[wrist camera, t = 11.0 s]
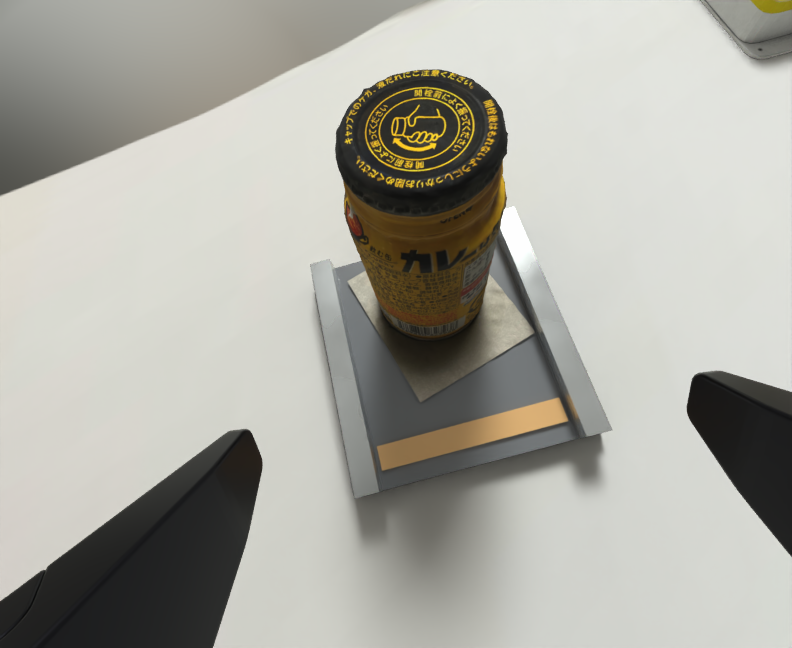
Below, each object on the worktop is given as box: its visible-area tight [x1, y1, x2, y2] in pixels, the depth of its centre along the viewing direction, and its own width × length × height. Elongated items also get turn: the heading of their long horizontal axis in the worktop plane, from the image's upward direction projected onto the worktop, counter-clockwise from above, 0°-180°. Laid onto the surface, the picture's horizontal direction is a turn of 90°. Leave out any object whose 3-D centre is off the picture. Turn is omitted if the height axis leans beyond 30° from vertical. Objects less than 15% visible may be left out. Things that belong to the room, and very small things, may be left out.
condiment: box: [335, 70, 535, 402], centre depth 17 cm, size 7×8×12 cm
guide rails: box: [310, 207, 612, 498], centre depth 21 cm, size 13×12×1 cm
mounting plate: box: [312, 239, 578, 495], centre depth 22 cm, size 13×13×1 cm
